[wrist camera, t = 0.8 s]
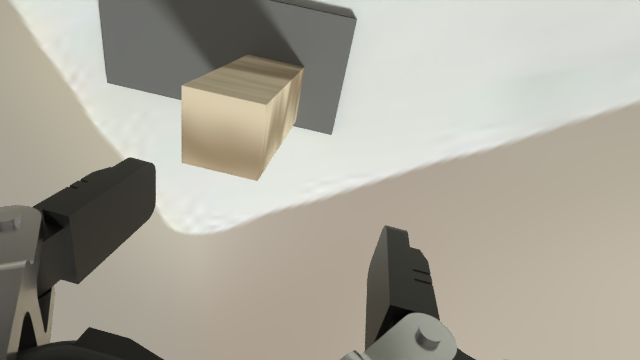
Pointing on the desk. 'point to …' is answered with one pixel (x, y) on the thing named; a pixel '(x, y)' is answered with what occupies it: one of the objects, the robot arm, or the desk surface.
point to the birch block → (239, 115)
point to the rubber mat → (226, 46)
